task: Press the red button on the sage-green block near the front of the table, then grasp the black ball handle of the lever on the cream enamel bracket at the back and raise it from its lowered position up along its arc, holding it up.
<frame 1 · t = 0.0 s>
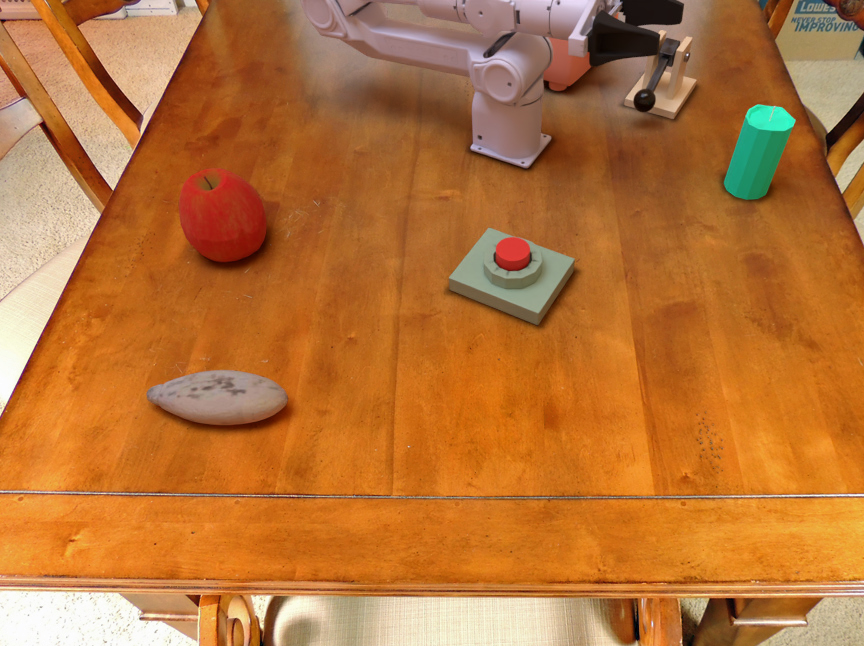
hand: (670, 29, 76), 22 cm above the table, tool horizontal, fingers open, 7 cm apart
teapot: (547, 69, 112), on the table
button block: (512, 280, 84), on the table
button: (512, 254, 80), point 4 cm above the table, slide at 0.1 cm
apple: (234, 243, 89), on the table
candle: (745, 186, 94), on the table
bracket: (659, 95, 106), on the table
decorative stone: (224, 405, 74), on the table
lever: (656, 76, 100), point 5 cm above the table, hinge at -20.0°
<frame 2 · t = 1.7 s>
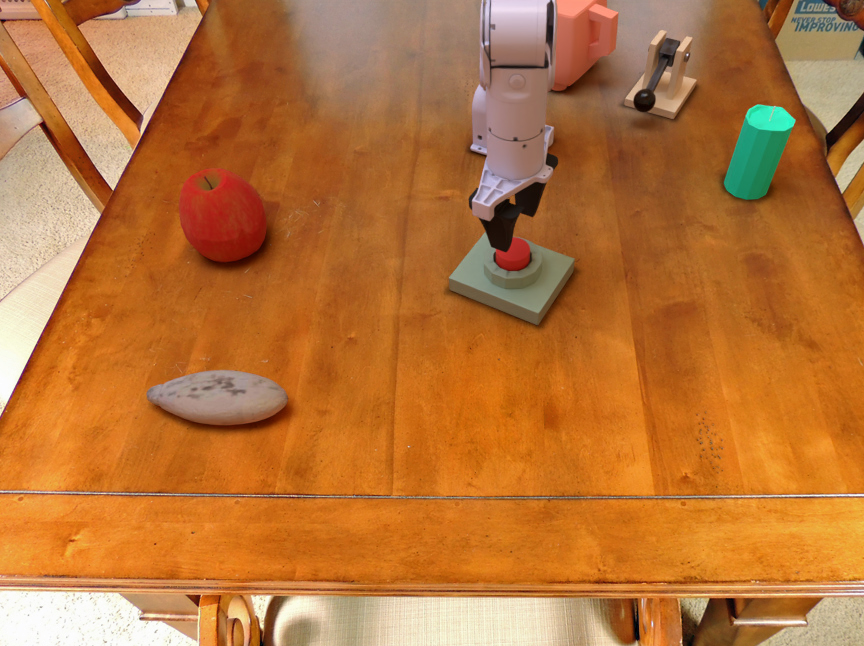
hand: (513, 230, 77), 8 cm above the table, tool pointing down, fingers open, 6 cm apart
nothing on the table moved.
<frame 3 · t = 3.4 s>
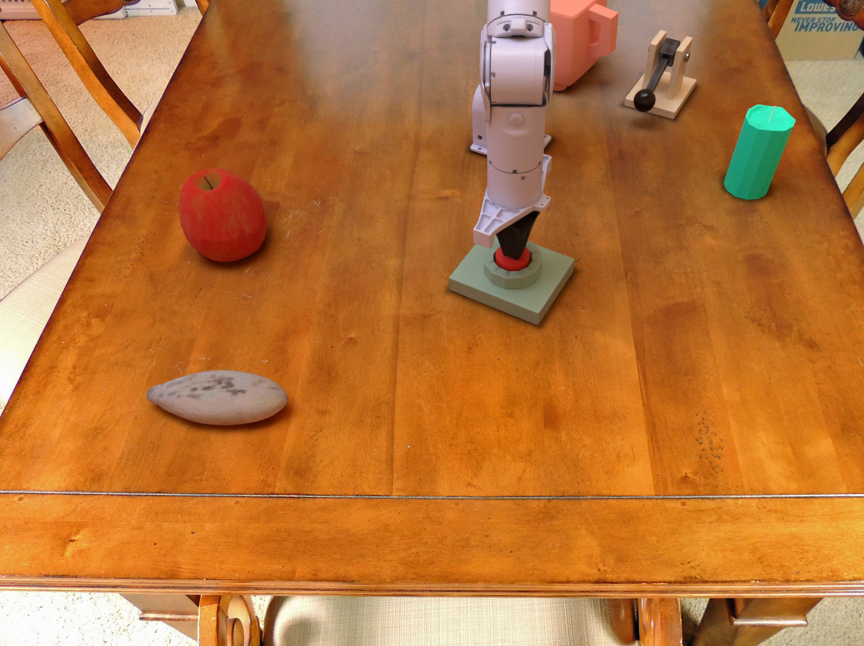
hand: (512, 254, 80), 4 cm above the table, tool pointing down, fingers closed, pressing on button
button: (512, 259, 81), point 4 cm above the table, slide at -0.7 cm, touching gripper
everything else where it was.
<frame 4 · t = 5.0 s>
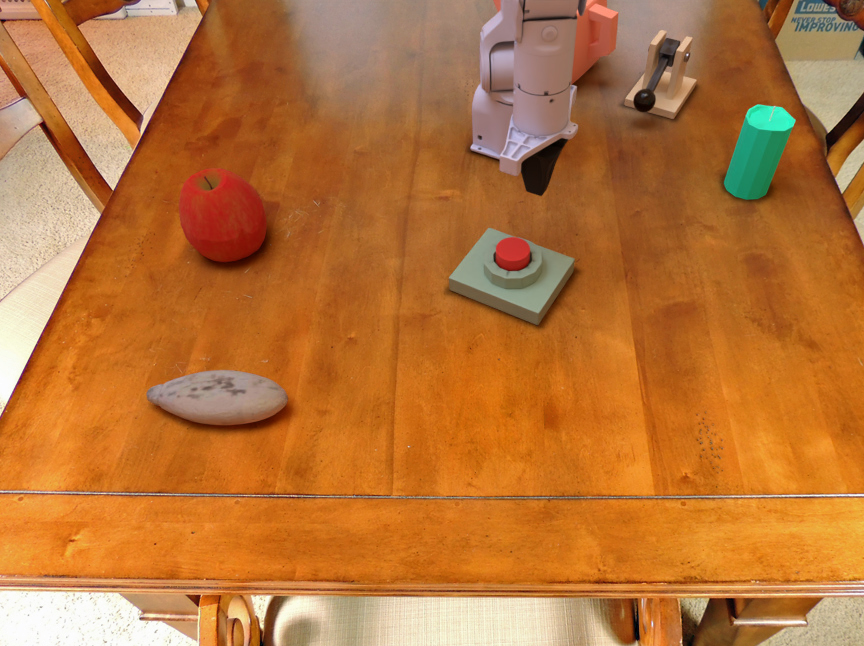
hand: (536, 190, 78), 10 cm above the table, tool pointing down, fingers closed
button: (512, 254, 80), point 4 cm above the table, slide at 0.1 cm
everything else where it was.
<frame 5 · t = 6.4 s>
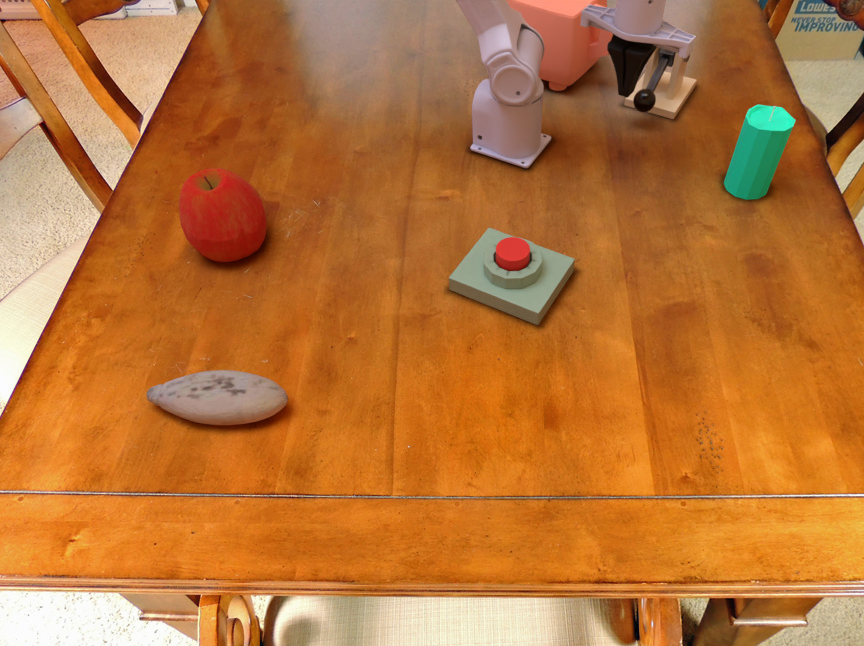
hand: (626, 92, 90), 10 cm above the table, tool pointing down, fingers closed
nothing on the table moved.
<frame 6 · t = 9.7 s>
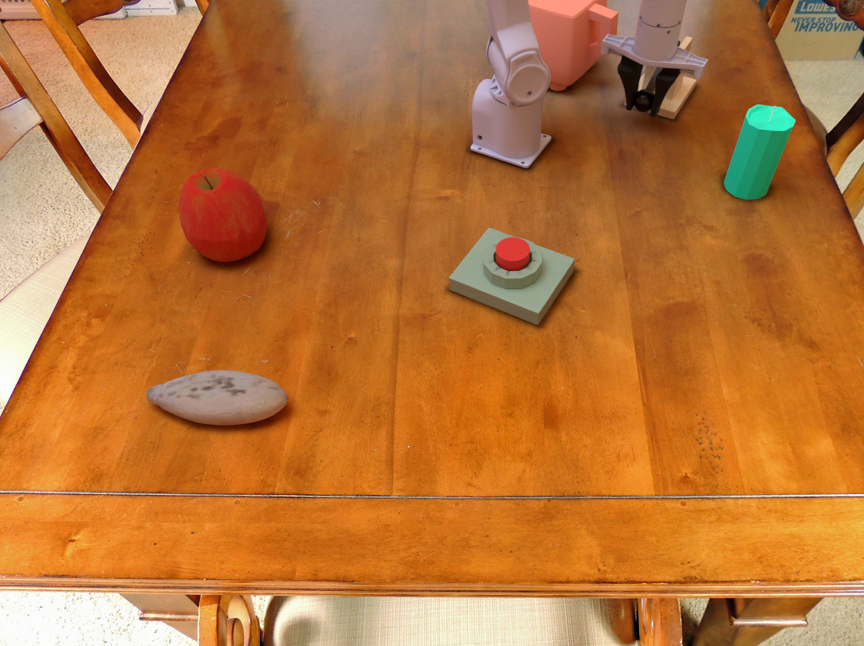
hand: (642, 110, 100), 2 cm above the table, tool pointing down, fingers closed on lever, 3 cm apart
lever: (656, 76, 100), point 5 cm above the table, hinge at -20.0°, touching gripper
everything else where it was.
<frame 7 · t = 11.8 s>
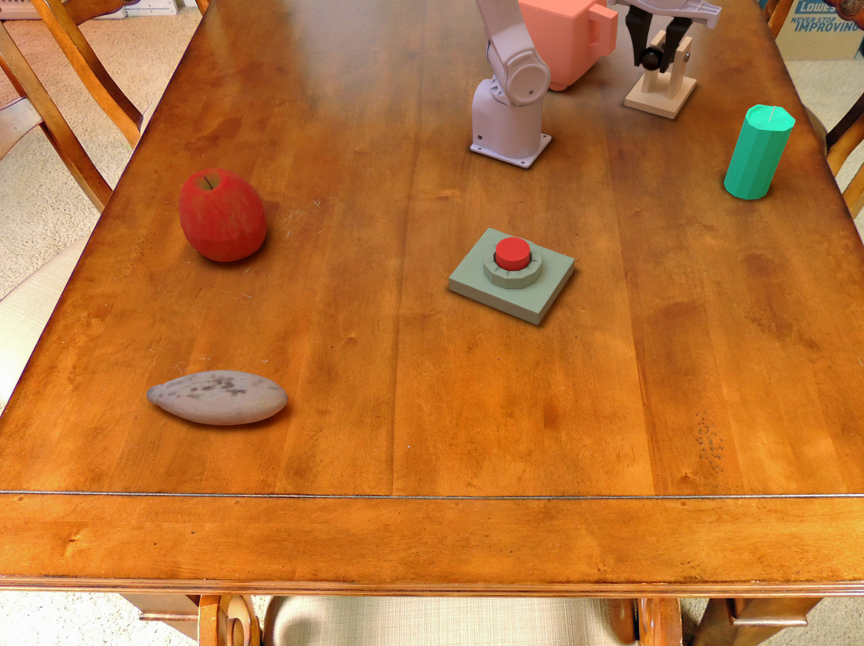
hand: (651, 66, 95), 9 cm above the table, tool pointing down, fingers closed on lever, 3 cm apart
lever: (661, 55, 97), point 9 cm above the table, hinge at 21.1°, touching gripper
everything else where it was.
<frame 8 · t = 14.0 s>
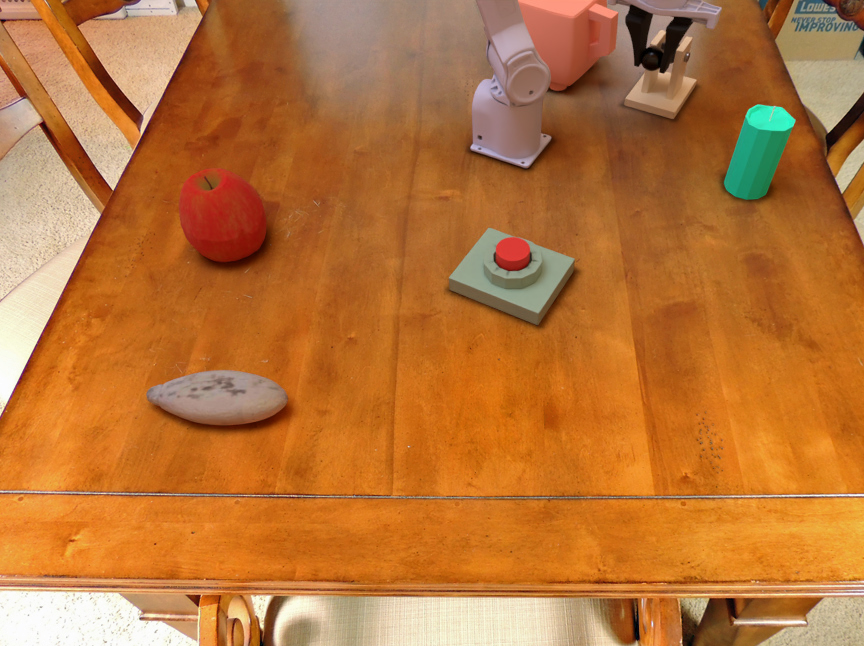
hand: (651, 66, 95), 9 cm above the table, tool pointing down, fingers closed on lever, 3 cm apart
lever: (661, 55, 97), point 9 cm above the table, hinge at 21.1°, touching gripper
everything else where it was.
at the end: lever at +21° (first picture: -20°); button pushed in 1.2 cm at the most during the clip, back to where it started at the end; button slide at 0.1 cm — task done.
